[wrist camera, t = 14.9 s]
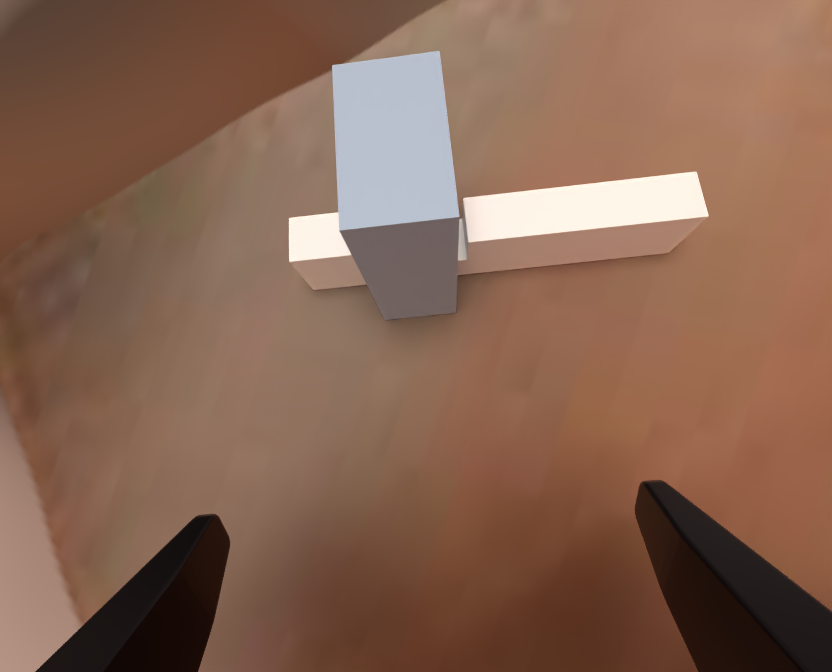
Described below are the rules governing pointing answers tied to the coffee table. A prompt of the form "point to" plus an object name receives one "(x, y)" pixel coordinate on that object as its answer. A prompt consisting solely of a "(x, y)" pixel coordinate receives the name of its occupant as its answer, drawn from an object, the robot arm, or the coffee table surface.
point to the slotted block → (398, 182)
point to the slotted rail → (531, 228)
